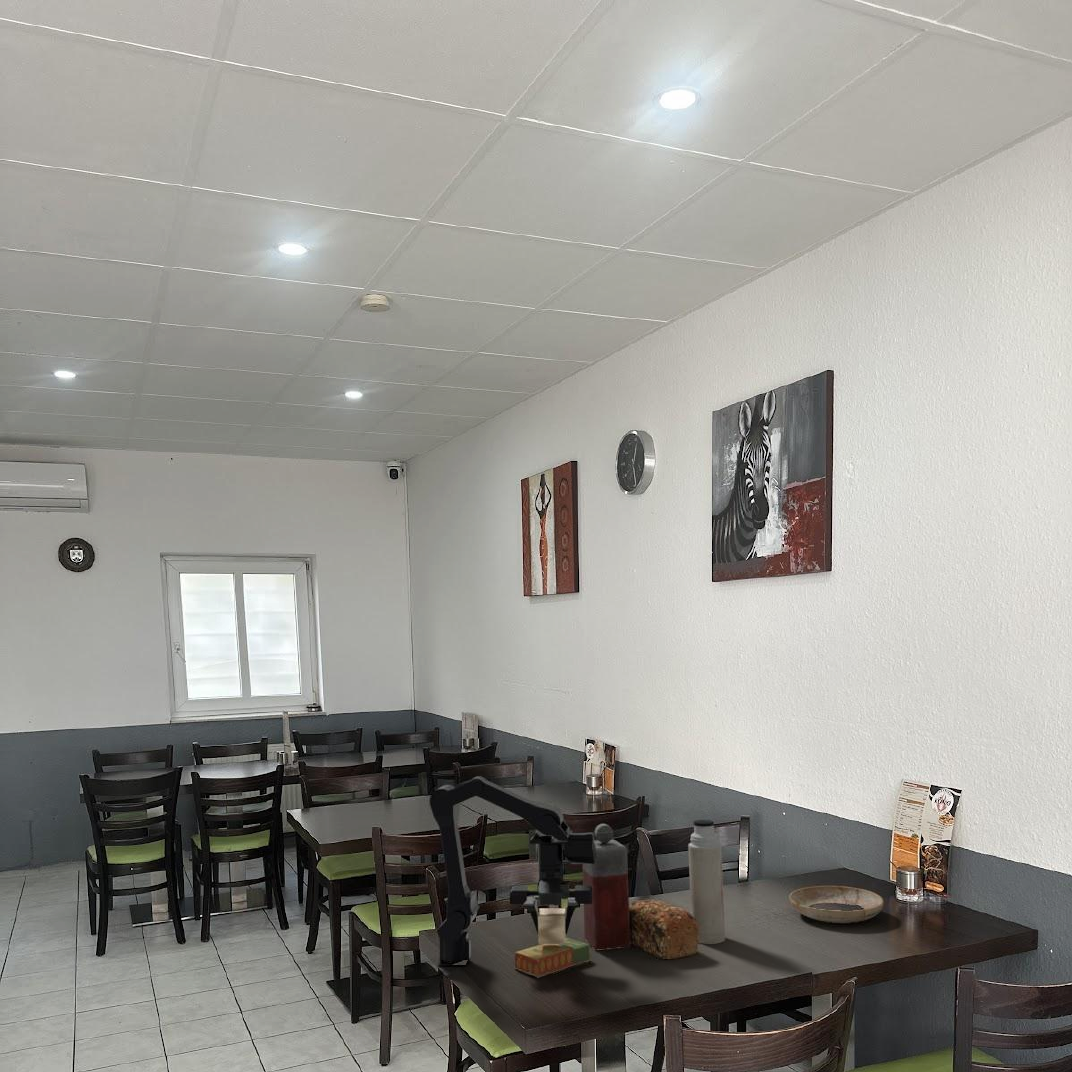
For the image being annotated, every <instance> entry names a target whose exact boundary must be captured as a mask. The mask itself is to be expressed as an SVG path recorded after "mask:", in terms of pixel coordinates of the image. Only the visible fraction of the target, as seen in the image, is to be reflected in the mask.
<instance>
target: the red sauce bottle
mask: <svg viewBox="0 0 1072 1072" xmlns="http://www.w3.org/2000/svg"><path fill="white" fill-rule="evenodd" d="M593 833H594V837H595V839H596V840H594V843H595V845H596V858H595V864H582V885H590V886H591V887H592V904H583V925H584V926H583V928H584V929H583V930H584V940H585V939H586V940H587V941H588V943H589V944H590V945H591V946H592V947H593V948H594V949H595V950H597V949H607V948H617V947H628V948H631V943H630V922H629V906H630V901H629V900H630V899H629V896H630V894H629V869H628V868H629V867H628V848H627V847H626V846H625V845H624V844H621V843H620V842H619V841H617V840H615V839H613V837H614V830H613V828H612V827H611V826H609V824H606V823H600V824H598V825H596V827H595V829H594V832H593ZM588 943H587V944H588ZM590 945H589V946H590ZM591 946H590V947H591ZM592 947H591V948H592ZM593 948H592V949H593ZM594 949H593V950H594Z"/></svg>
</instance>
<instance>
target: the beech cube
mask: <svg viewBox="0 0 1072 1072" xmlns="http://www.w3.org/2000/svg"><path fill="white" fill-rule="evenodd" d="M566 914H567V908H560V907H559V908H557V907H556V908H554V907H553V908H552V907H550V908H544V907H543V908H538V934H537V937H538V941H537V942H538V945H542V944H565V941H566V937H567V934H565V923H566Z"/></svg>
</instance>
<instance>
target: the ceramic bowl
mask: <svg viewBox="0 0 1072 1072" xmlns="http://www.w3.org/2000/svg"><path fill="white" fill-rule="evenodd" d="M788 900H789V902H790V904H791V905H792V907H793V909H795V910H796V911H797V912H799V913H800V914H802V915H803V916H806V917H808V918H810V919H812V920H816V921H820V922H826V923H831V922H832V923H833V924H852V923H851V922H854V923H859V921H860V922H863V921H867V920H869V919H872V918H873V917H876V916H878V914H880V912H881V911H882V910H883V908H884V899H883V897H882V896H880V894H877V893H875V892H873V891H870V890H867V889H863V888H856V887H851V886H841V885H839V886H838V885H819V886H818V885H817V886H810V887H802V888H798V889H796V890H794V891H792V892H791V893H790V894H789V899H788ZM830 903H832V904H834V903H837V904H846V905H848V904H849V905H859V906H861V907H862V908H864V909H863V910H853V911H841V910H825V909H816V908H813V906H814V905H824V904H830Z"/></svg>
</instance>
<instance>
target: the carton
mask: <svg viewBox="0 0 1072 1072" xmlns="http://www.w3.org/2000/svg"><path fill="white" fill-rule="evenodd" d="M587 960H590V961H591V946H590V945H589V944H588V943H587V942H582V941H580V940H576V939H573V938H570V937H567V936H566V941H565V944H538V945H536V946H535V945H534V946H531V947H528V948H525V949H522V950H518V951H515V952H514V968H515V967H516V968H518V969H521V970H523V971H526V972H530V973H532V974H535V975H537V976H538V975H542V974H545V973H547V972H553V971H556V970H559V969H562V968H564V967H567V966H570V965H573V964H578V963H581V962H584V961H587Z"/></svg>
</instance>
